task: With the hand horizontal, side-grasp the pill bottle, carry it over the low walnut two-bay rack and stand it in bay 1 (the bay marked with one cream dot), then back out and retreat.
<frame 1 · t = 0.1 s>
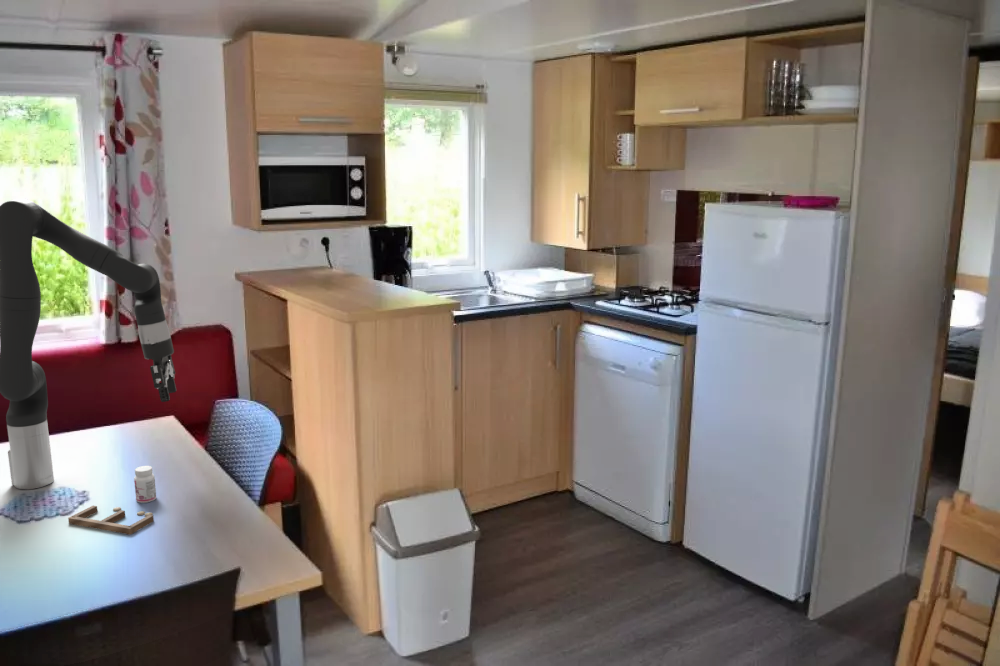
hand: (169, 396, 221), 22 cm above the table, tool pointing down, fingers open, 8 cm apart
slot rack: (114, 521, 196), on the table
pill bottle: (146, 500, 209), on the table
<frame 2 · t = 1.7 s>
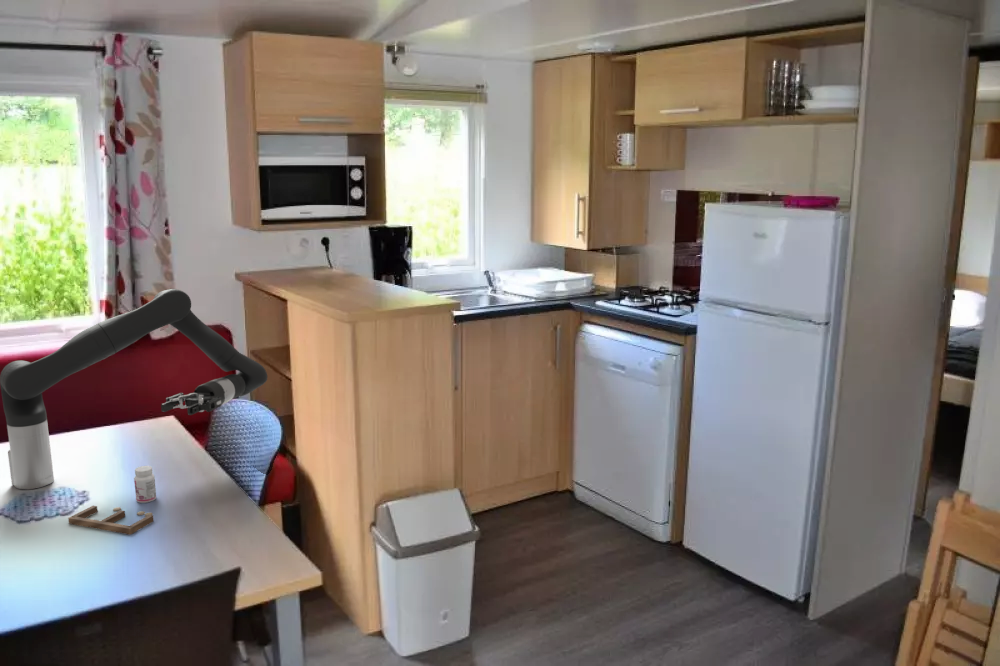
hand: (175, 409, 217), 20 cm above the table, tool horizontal, fingers open, 8 cm apart
nothing on the table moved.
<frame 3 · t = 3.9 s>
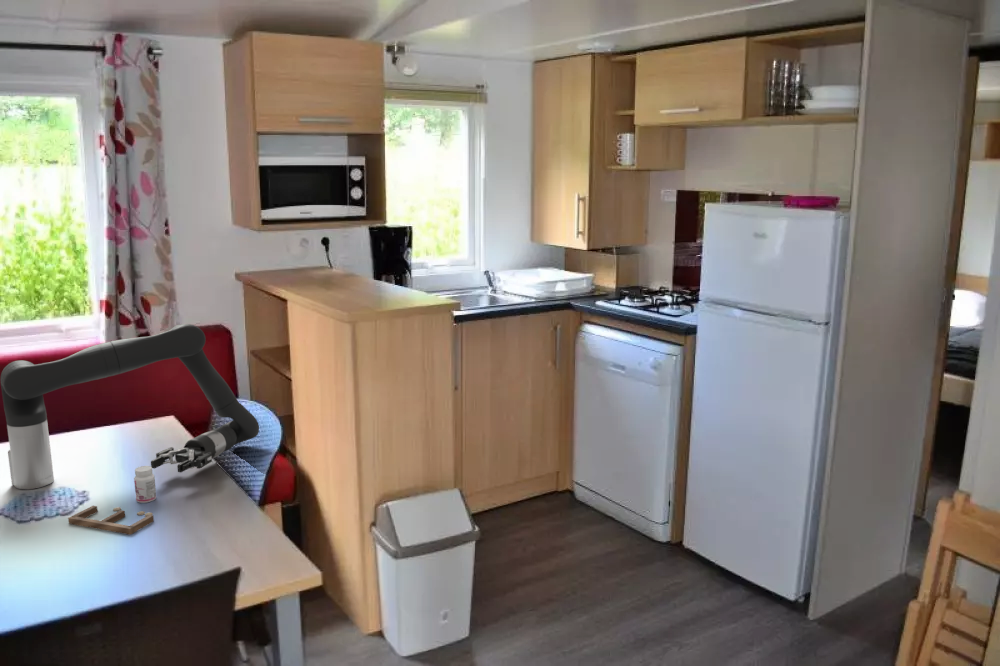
hand: (165, 467, 215), 6 cm above the table, tool horizontal, fingers open, 8 cm apart
nothing on the table moved.
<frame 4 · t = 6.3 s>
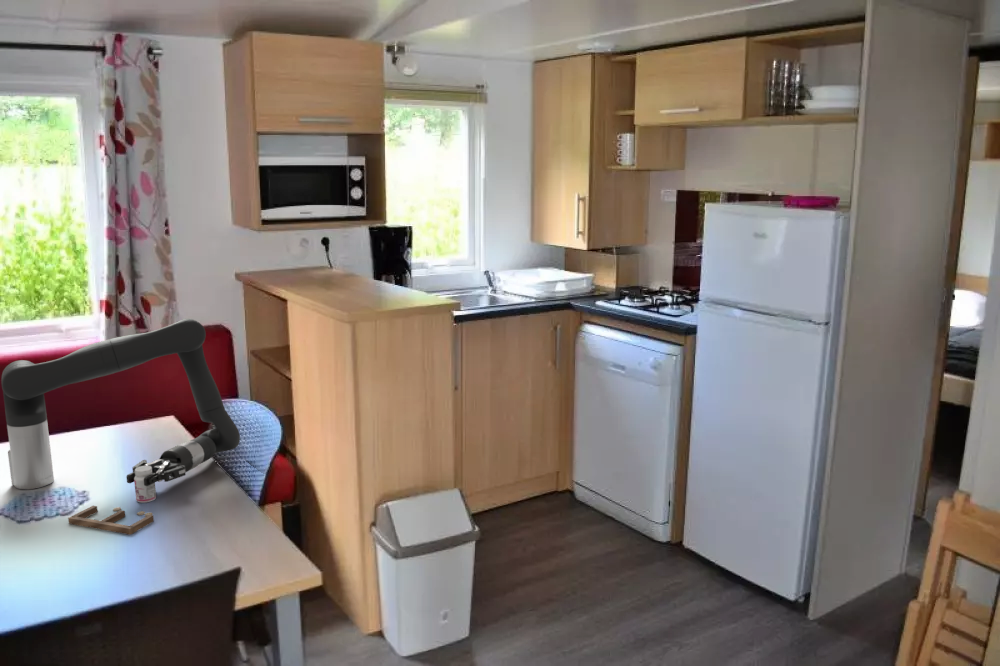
hand: (136, 480, 205), 6 cm above the table, tool horizontal, fingers closed on pill bottle, 4 cm apart
pill bottle: (146, 500, 209), on the table, touching gripper
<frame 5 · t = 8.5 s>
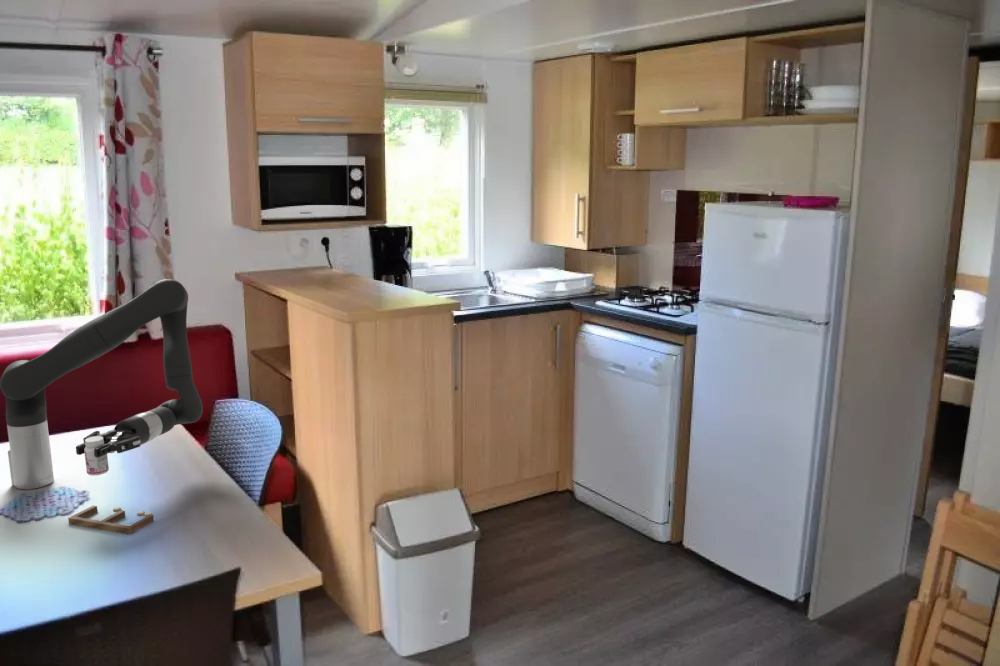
hand: (86, 452, 192), 18 cm above the table, tool horizontal, fingers closed on pill bottle, 4 cm apart
pill bottle: (98, 472, 196), point 11 cm above the table, touching gripper
when the fingers open (7 cm above the table, at t = 10.9 s): pill bottle drops 1 cm, on the table.
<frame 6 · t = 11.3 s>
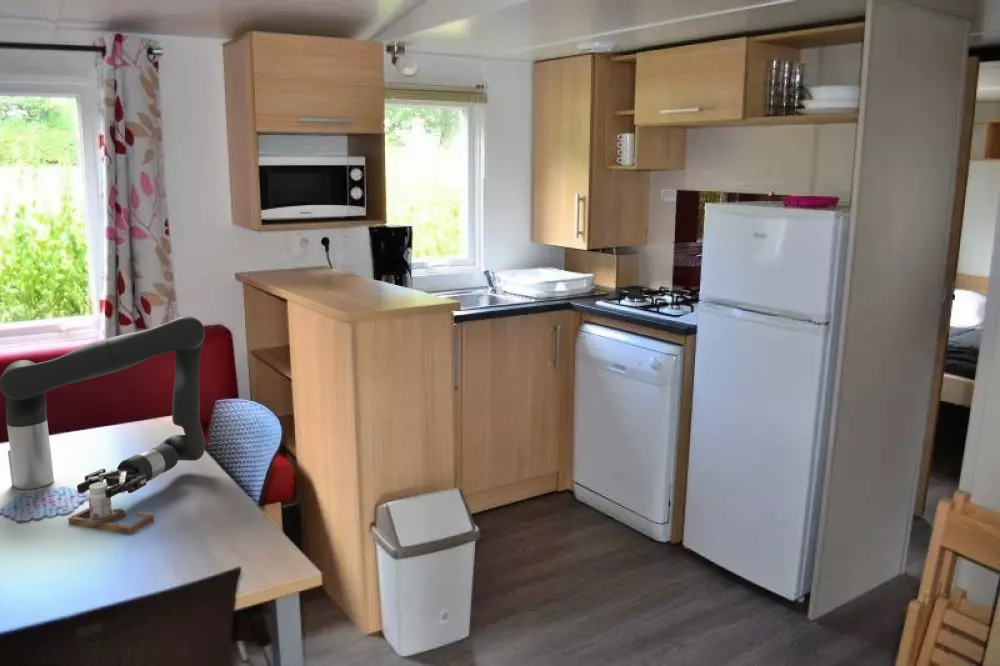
hand: (92, 491, 195), 7 cm above the table, tool horizontal, fingers open, 8 cm apart
pill bottle: (101, 518, 198), on the table
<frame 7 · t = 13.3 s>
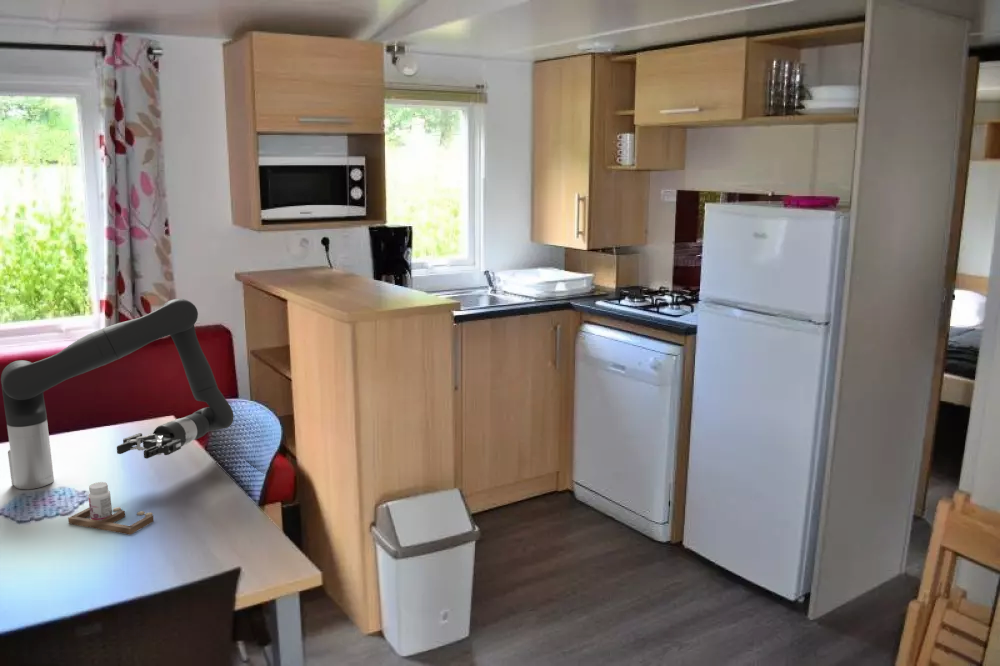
hand: (131, 452, 208), 12 cm above the table, tool horizontal, fingers open, 8 cm apart
nothing on the table moved.
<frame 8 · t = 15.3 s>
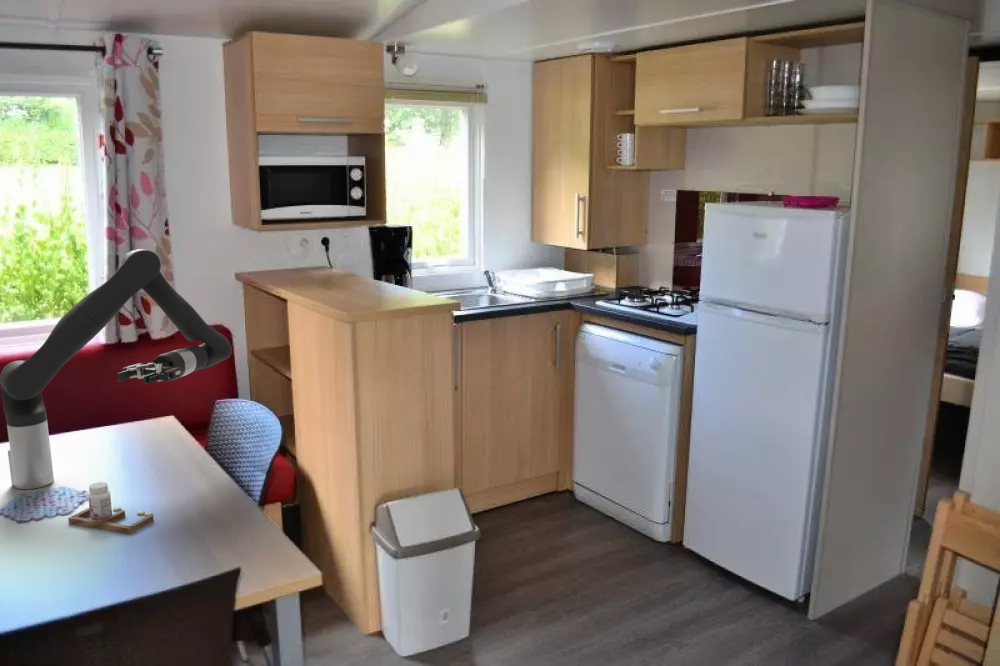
hand: (131, 379, 210), 30 cm above the table, tool horizontal, fingers open, 8 cm apart
nothing on the table moved.
at the end: pill bottle 0.4 cm from the target spot, on the table; pill bottle tilted 0°; the gripper is holding nothing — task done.
